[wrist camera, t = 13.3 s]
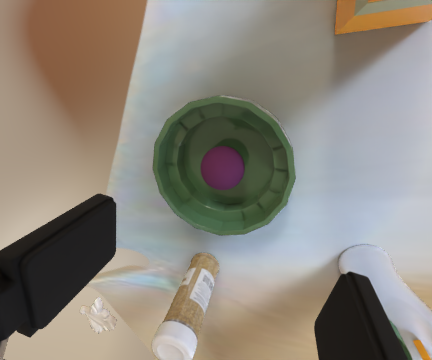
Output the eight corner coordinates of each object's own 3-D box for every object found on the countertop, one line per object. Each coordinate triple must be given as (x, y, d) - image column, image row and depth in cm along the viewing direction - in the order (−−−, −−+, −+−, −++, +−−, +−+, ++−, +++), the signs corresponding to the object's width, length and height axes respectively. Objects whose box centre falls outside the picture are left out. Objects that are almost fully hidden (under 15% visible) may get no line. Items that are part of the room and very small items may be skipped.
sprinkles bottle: (189, 251, 35) (144, 335, 23) (217, 251, 34) (185, 339, 22) (195, 275, 37) (156, 366, 24) (222, 275, 35) (196, 372, 23)
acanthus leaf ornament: (99, 295, 44) (92, 303, 43) (123, 319, 45) (117, 328, 44) (78, 307, 47) (71, 315, 45) (101, 330, 48) (95, 339, 46)
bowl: (178, 85, 27) (159, 83, 22) (309, 111, 25) (317, 115, 20) (166, 197, 33) (148, 214, 28) (271, 227, 31) (270, 250, 26)
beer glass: (329, 279, 31) (372, 423, 18) (340, 236, 29) (400, 365, 15) (386, 289, 30) (481, 455, 16) (403, 245, 27) (532, 397, 14)
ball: (211, 137, 28) (198, 146, 23) (251, 147, 27) (246, 158, 22) (204, 175, 30) (191, 190, 25) (242, 185, 29) (235, 202, 24)
